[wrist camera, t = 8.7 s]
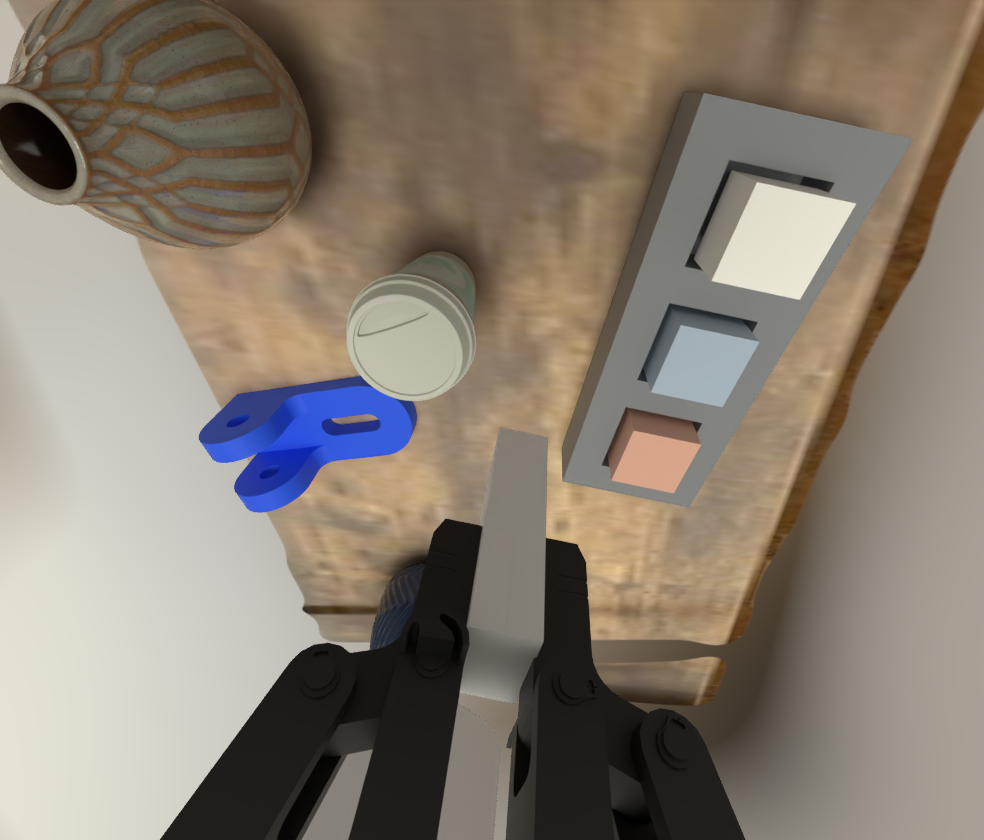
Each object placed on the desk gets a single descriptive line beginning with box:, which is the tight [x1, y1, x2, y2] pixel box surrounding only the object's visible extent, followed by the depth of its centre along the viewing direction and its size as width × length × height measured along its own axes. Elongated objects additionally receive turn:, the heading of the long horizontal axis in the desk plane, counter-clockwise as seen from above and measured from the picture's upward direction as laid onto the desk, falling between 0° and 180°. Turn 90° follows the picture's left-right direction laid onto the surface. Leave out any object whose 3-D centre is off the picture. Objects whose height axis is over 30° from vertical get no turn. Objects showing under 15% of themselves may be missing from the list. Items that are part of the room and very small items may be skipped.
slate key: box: [643, 303, 759, 407], centre depth 35 cm, size 5×5×4 cm
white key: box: [694, 170, 856, 300], centre depth 28 cm, size 5×5×4 cm
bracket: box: [199, 376, 417, 512], centre depth 45 cm, size 18×8×9 cm, turn 102°
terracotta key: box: [607, 407, 701, 493], centre depth 40 cm, size 5×5×4 cm
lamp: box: [302, 562, 501, 840], centre depth 48 cm, size 20×20×37 cm
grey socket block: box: [562, 92, 913, 507], centre depth 37 cm, size 30×12×5 cm, turn 170°
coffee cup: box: [346, 251, 476, 401], centre depth 34 cm, size 8×8×12 cm
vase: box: [0, 0, 312, 249], centre depth 27 cm, size 13×13×18 cm
